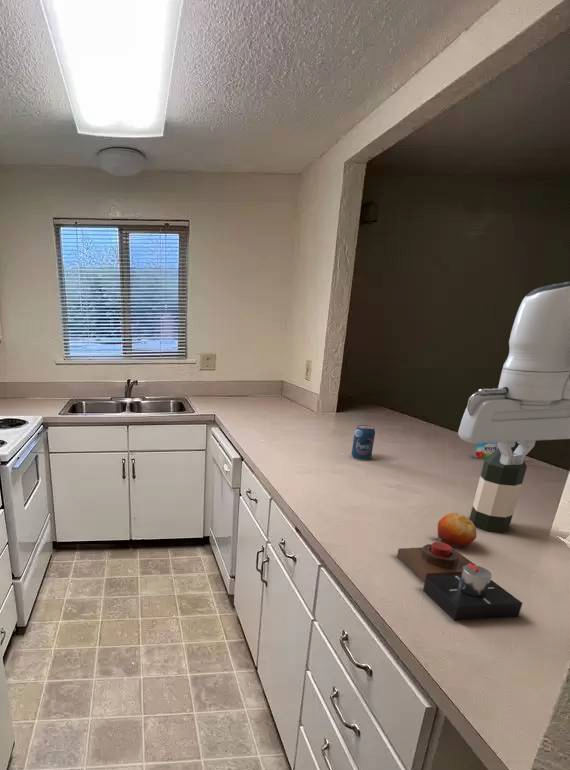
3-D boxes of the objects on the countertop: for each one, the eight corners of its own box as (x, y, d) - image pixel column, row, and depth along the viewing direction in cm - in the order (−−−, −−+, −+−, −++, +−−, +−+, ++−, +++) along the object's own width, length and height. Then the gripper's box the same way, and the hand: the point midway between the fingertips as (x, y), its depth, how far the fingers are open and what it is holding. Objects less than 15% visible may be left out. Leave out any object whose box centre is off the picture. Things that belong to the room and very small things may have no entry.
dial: (492, 596, 78) (498, 576, 77) (467, 596, 79) (473, 576, 77) (475, 582, 83) (481, 562, 81) (452, 582, 83) (457, 563, 81)
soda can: (355, 460, 161) (359, 429, 157) (348, 454, 168) (352, 424, 164) (374, 460, 161) (379, 429, 157) (366, 454, 167) (371, 424, 163)
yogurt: (474, 457, 163) (477, 441, 160) (473, 456, 164) (477, 440, 162) (513, 462, 157) (518, 445, 155) (512, 461, 158) (517, 444, 156)
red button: (442, 548, 94) (444, 541, 93) (454, 557, 90) (456, 549, 90) (426, 549, 93) (428, 542, 93) (437, 558, 90) (439, 550, 89)
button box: (447, 554, 98) (451, 539, 97) (480, 579, 89) (485, 562, 87) (396, 557, 97) (399, 541, 96) (424, 582, 88) (428, 565, 87)
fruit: (436, 523, 109) (460, 504, 104) (462, 548, 105) (489, 529, 100) (421, 532, 105) (445, 513, 99) (447, 559, 101) (475, 540, 95)
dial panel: (480, 587, 86) (484, 573, 85) (518, 616, 78) (522, 602, 77) (422, 590, 86) (425, 576, 84) (454, 620, 77) (458, 605, 76)
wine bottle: (491, 517, 115) (522, 405, 105) (516, 531, 108) (553, 412, 97) (461, 518, 115) (489, 406, 104) (484, 533, 107) (517, 413, 97)
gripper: (486, 392, 70) (467, 472, 75) (606, 386, 71) (580, 466, 76) (458, 386, 76) (443, 461, 80) (569, 381, 77) (548, 455, 81)
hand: (510, 463), depth 78 cm, fingers closed
